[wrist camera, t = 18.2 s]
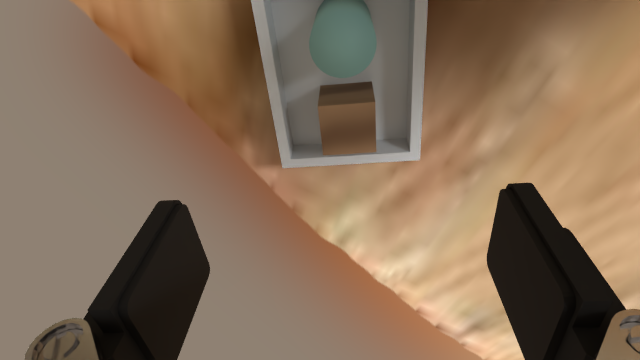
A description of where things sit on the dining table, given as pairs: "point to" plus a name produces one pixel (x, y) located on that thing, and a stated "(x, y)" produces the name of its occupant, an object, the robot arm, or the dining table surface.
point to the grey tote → (344, 79)
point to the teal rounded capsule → (342, 38)
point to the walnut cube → (347, 118)
